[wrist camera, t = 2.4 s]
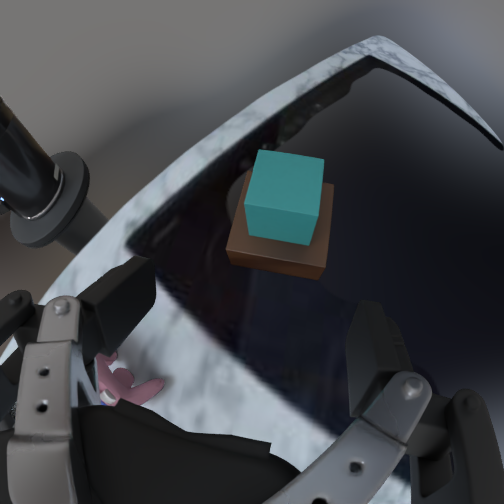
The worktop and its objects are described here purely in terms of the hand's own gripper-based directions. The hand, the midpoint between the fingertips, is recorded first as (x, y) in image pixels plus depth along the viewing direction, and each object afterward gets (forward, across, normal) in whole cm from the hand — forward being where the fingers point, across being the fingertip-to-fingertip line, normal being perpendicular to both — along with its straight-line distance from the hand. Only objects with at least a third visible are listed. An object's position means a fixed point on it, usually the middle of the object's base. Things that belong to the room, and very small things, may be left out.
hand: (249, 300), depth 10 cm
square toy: (+17, 0, +1) cm, 17 cm away
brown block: (+20, 0, +4) cm, 20 cm away
